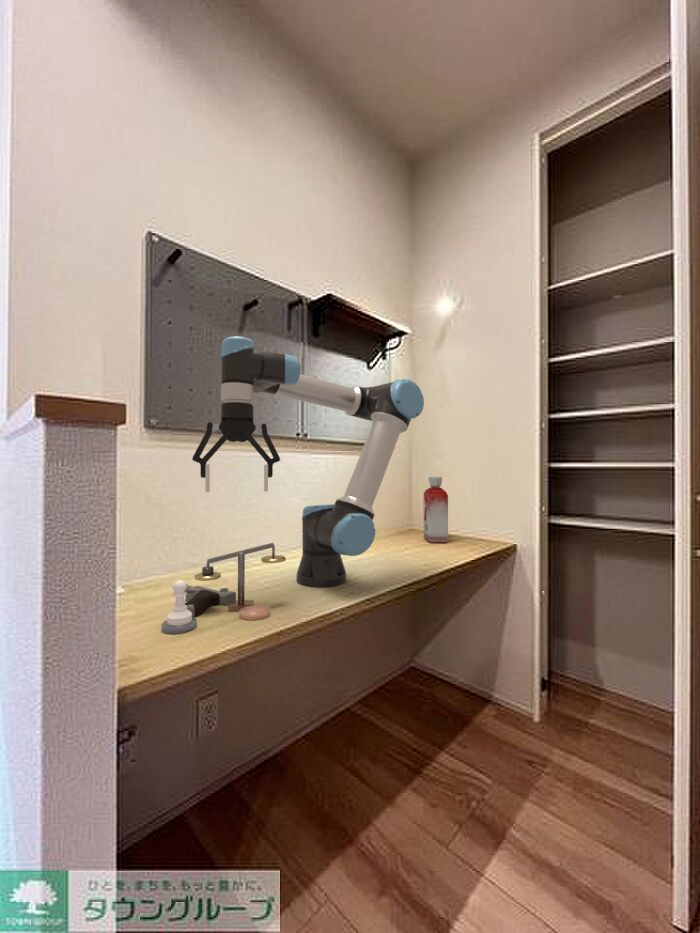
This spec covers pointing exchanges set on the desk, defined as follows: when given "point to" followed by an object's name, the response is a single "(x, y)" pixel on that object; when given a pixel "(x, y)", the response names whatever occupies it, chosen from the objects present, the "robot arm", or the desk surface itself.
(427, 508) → the bottle
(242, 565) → the balance
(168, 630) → the dish slate
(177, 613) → the chess pawn
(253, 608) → the pink disc
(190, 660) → the desk surface
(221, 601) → the handgun
